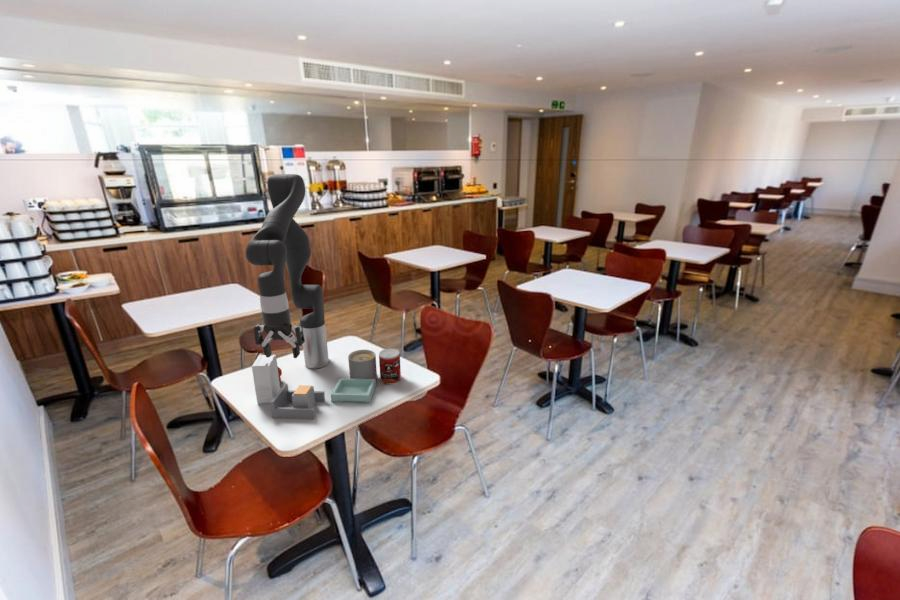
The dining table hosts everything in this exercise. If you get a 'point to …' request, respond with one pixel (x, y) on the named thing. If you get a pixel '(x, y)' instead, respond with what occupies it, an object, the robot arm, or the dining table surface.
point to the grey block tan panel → (304, 397)
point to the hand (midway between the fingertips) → (282, 356)
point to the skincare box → (266, 378)
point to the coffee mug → (362, 364)
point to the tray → (353, 390)
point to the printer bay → (292, 412)
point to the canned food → (389, 366)
